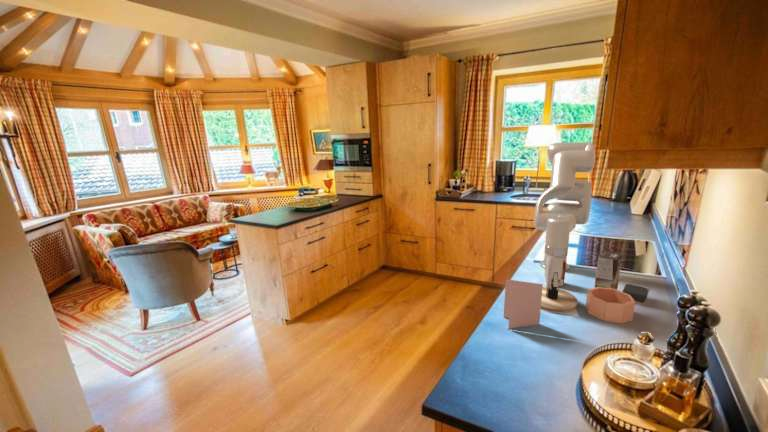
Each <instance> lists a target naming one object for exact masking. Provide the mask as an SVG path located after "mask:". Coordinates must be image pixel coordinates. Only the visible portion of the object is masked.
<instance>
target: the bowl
mask: <svg viewBox="0 0 768 432" xmlns="http://www.w3.org/2000/svg"><path fill="white" fill-rule="evenodd" d="M635 306H636V301H634V299H633V298H632V297H631V295H629V294H627V293H624V292H623V290H618V289H617V290H616V289H612V288H603V287H595V288H594V287H592V288H589V289H587V293H586V301H585V307H586V311H587V314H589V315H591V316H593V317H596V318H597V319H599V320H602V321H603V322H610V323H618V324H625V323H627V322H632V321H633V318H634V313H635Z"/></svg>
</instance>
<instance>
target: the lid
mask: <svg viewBox="0 0 768 432" xmlns="http://www.w3.org/2000/svg"><path fill="white" fill-rule="evenodd" d="M552 284H553V283H552ZM549 286H550V282H549V283H546V286H543V287H542V298H541V307H544V308H547V309H552V310H570V309H573V308H575V307H576V308H577V305H578V298H577V297H576V296H575V295H574V294H572V293H571V292H569V291H567V290H564V289H561V288H560V287H559V285H558V298H557V299H549V298H548V288H549Z"/></svg>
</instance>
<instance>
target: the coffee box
mask: <svg viewBox="0 0 768 432" xmlns="http://www.w3.org/2000/svg"><path fill="white" fill-rule="evenodd" d="M622 259H623V253H620V252H619V253H618V252H612V251H606V250H604V251H603V252H602V253H601V254H599V255H598V257H597V265H596V271H595V272H596V273H595V279H594V287H593V288H595V287H603V288H612V289H616V290H618V287H619V280H620V273H621V266H622Z"/></svg>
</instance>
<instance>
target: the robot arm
mask: <svg viewBox="0 0 768 432" xmlns="http://www.w3.org/2000/svg"><path fill="white" fill-rule="evenodd" d="M595 149H596V148H595V145H594V144H593V143H592V142H589V141H587V142H586V141H584V142H583V141H581V142H567V141H566V142H555V143H551V144H550V145H548V146H547V151H546V152H547V153H546V154H547V158H548V161H549V163H550V165H551V174H550V183H549V187H548V188H547V189H545V190H544V191H543V192H542V193H541V194H540V195H539V197H538V199H537V201H536V203H535V208H534V215H533V225H534V228H535V229H536V230H540V231H545V232H546V233H545V240H544V251H543V252H544V258H543V260H541V261H540V264H539V265H540V266H541V268H543V269H544V277H545V282H546V281H547V282H550V286H549V288H548V298H549V299H557V298H558V282H559V283H561V280H562V271H563V259H565V262H566V269H565V272H566V271H569V269H570V265H569V264H568V263H567V258H568V253H569V242H570V233H572V231H573V230H574V229H575V228H576V227H577V225H581V226H582V225H586V224H587V223H588V221H589V219H590V212H591V204H592V203H591V202H592V196H593V195H592V194H593V187H592V184H591V182H590V181H589V180H586V179H585V180H584V179H583V180H582V179H576V173H589V172H592V171H593V170H594V168H595V164H596V150H595ZM550 200H556V202H551V203H549V204H548V205H547V206H546V210H543V208H544V206H545V204H546V203H547V202H548V201H550ZM557 201H559V202H557ZM560 201H570V202H560ZM574 202H578V203H574ZM552 283H553V284H552Z"/></svg>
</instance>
